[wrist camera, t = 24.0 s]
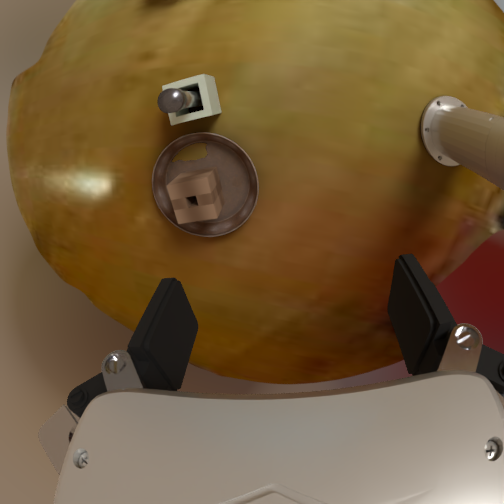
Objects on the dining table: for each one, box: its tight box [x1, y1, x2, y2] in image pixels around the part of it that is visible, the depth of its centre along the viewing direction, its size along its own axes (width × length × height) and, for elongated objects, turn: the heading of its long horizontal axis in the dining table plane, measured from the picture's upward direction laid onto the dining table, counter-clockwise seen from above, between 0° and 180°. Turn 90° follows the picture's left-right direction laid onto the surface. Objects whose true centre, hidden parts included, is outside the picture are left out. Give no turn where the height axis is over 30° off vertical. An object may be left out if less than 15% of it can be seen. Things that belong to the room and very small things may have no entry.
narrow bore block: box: [167, 166, 225, 224], centre depth 39 cm, size 6×6×6 cm
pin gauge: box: [158, 88, 203, 113], centre depth 31 cm, size 3×3×12 cm
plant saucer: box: [152, 132, 259, 237], centre depth 43 cm, size 18×18×3 cm
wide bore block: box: [162, 74, 221, 125], centre depth 33 cm, size 6×6×6 cm
